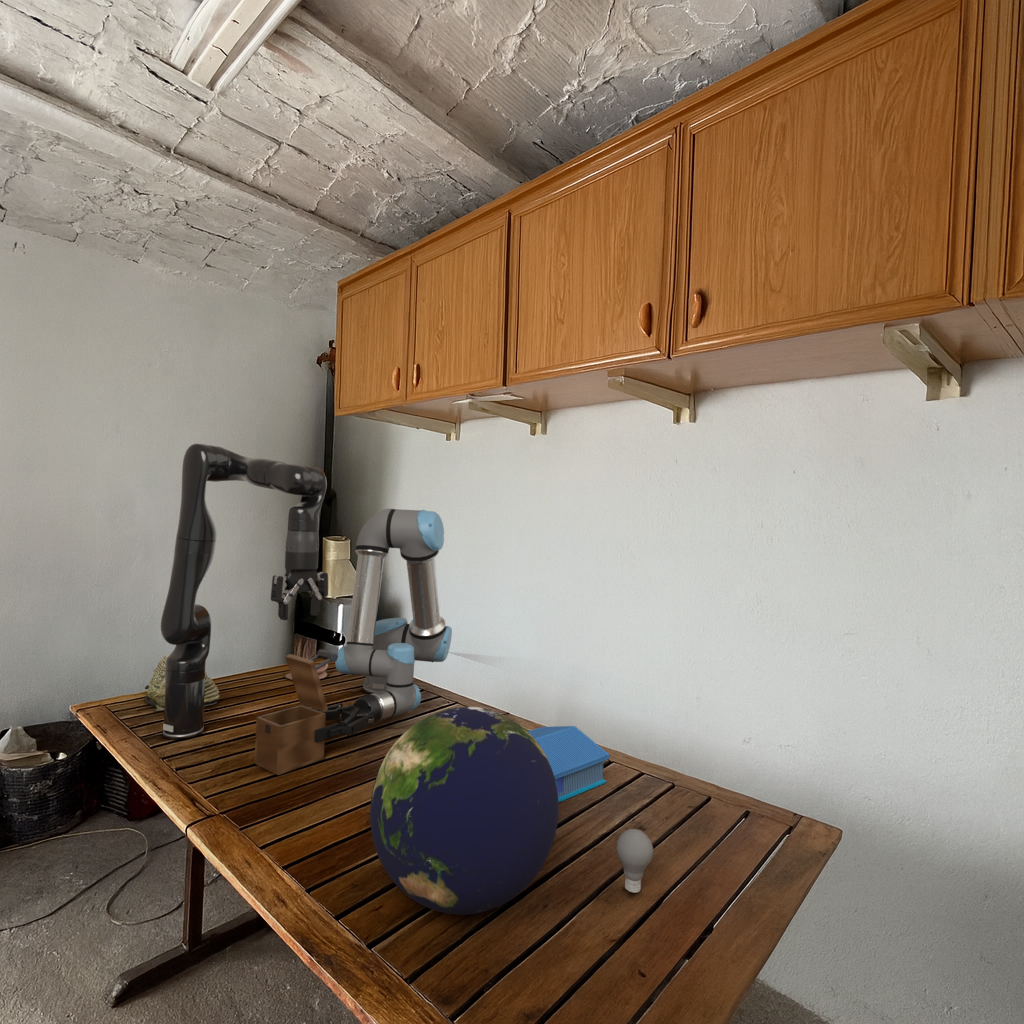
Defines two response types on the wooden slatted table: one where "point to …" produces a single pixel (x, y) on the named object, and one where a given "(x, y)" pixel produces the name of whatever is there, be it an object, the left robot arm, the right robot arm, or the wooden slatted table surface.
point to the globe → (464, 810)
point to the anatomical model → (320, 672)
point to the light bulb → (634, 857)
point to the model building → (571, 759)
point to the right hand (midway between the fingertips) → (302, 730)
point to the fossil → (158, 687)
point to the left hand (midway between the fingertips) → (299, 617)
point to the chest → (288, 739)
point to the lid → (309, 678)
